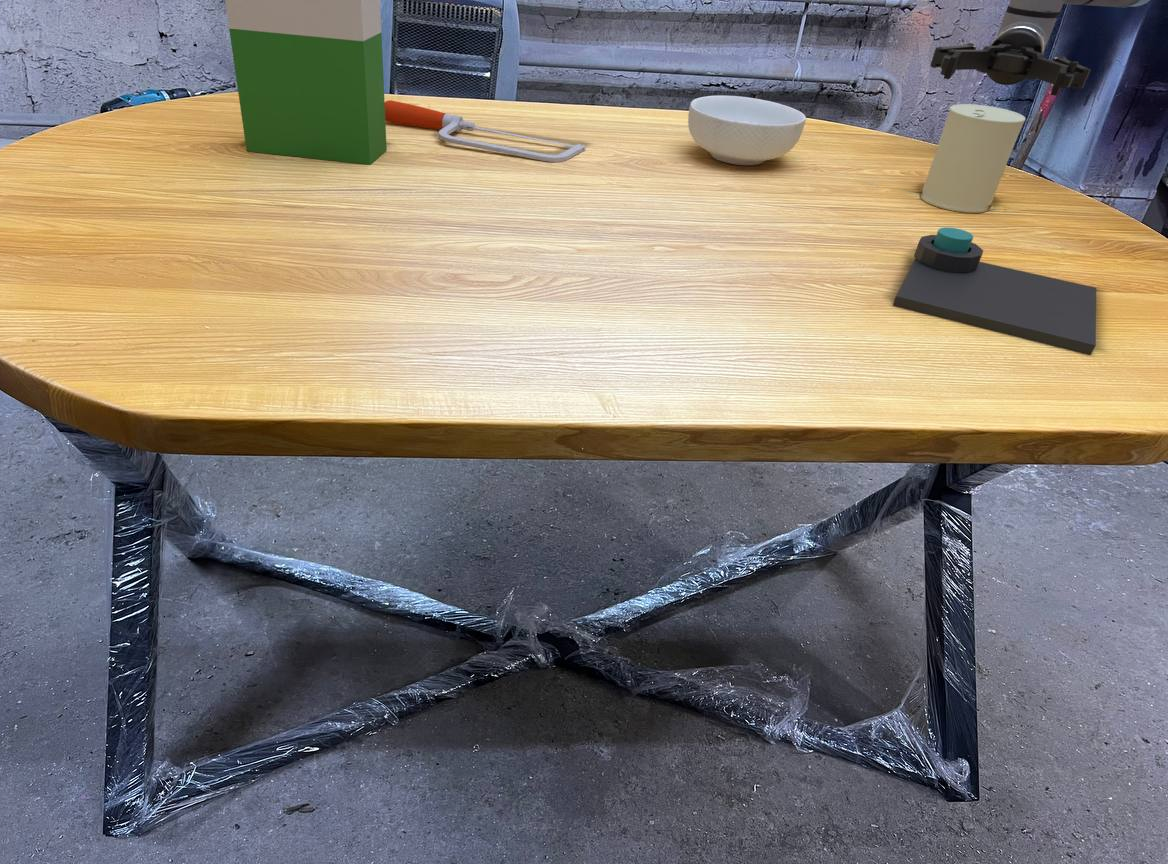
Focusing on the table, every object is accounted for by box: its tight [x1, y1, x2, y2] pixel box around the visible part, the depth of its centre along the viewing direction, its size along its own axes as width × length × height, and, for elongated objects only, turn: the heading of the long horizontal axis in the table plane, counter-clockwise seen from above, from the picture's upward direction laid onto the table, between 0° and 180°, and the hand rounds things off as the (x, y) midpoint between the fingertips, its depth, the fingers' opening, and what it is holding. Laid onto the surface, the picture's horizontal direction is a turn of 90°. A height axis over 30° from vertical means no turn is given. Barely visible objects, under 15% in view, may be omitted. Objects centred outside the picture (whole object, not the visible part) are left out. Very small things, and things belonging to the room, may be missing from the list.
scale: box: [892, 234, 1097, 356], centre depth 85 cm, size 18×17×3 cm
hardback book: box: [224, 0, 388, 166], centre depth 108 cm, size 18×7×24 cm, turn 81°
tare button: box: [933, 227, 974, 253], centre depth 90 cm, size 4×4×2 cm
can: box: [919, 103, 1026, 214], centre depth 110 cm, size 9×9×12 cm
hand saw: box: [385, 99, 586, 163], centre depth 123 cm, size 33×3×10 cm
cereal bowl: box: [687, 95, 807, 166], centre depth 122 cm, size 17×17×7 cm
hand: (1002, 76), depth 111 cm, fingers open, 13 cm apart
